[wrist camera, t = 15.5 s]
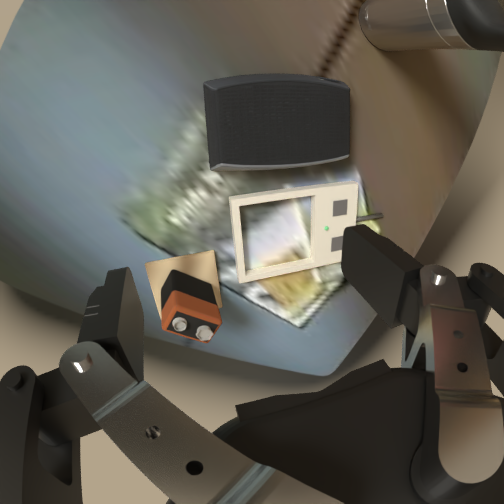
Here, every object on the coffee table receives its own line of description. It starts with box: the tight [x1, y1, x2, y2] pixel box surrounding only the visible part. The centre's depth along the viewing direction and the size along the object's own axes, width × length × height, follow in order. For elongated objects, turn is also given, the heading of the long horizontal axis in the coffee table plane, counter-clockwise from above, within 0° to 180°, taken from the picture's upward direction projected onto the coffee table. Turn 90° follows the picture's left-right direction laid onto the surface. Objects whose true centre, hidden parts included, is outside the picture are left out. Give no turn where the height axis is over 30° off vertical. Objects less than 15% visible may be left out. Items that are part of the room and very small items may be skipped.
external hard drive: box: [204, 74, 350, 171], centre depth 37 cm, size 13×19×4 cm
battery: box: [161, 269, 222, 343], centre depth 41 cm, size 4×7×10 cm, turn 57°
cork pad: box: [145, 250, 222, 319], centre depth 46 cm, size 10×10×1 cm
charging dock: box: [229, 181, 383, 283], centre depth 46 cm, size 26×13×2 cm, turn 94°
